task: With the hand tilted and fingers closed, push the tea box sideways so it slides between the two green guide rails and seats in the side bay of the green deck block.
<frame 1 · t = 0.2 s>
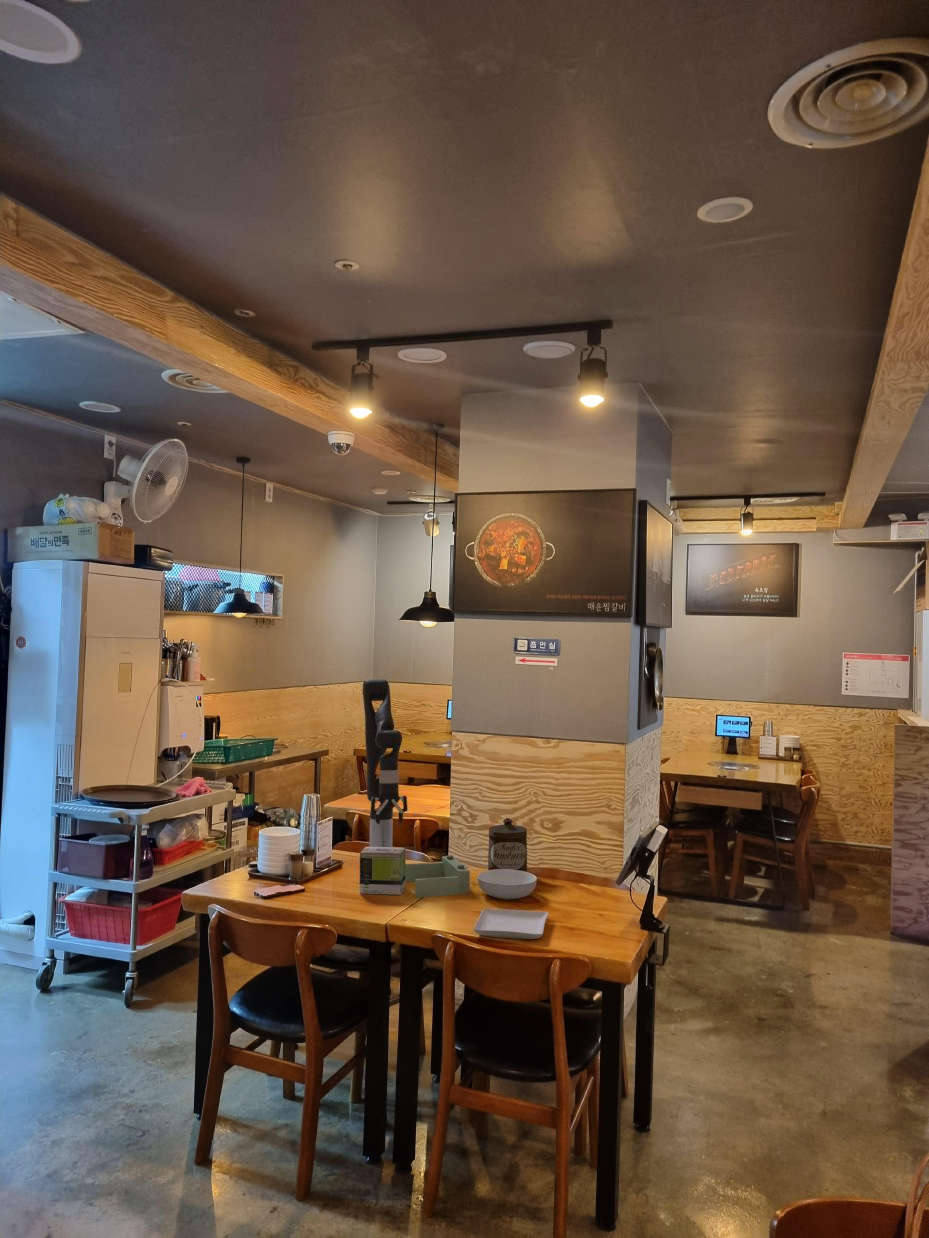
hand: (389, 823, 332), 18 cm above the table, tool pointing down, fingers open, 8 cm apart
wooden container: (507, 876, 324), on the table
salad plate: (511, 931, 263), on the table
serving bowl: (507, 896, 299), on the table
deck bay: (431, 887, 308), on the table
tea box: (382, 891, 303), on the table
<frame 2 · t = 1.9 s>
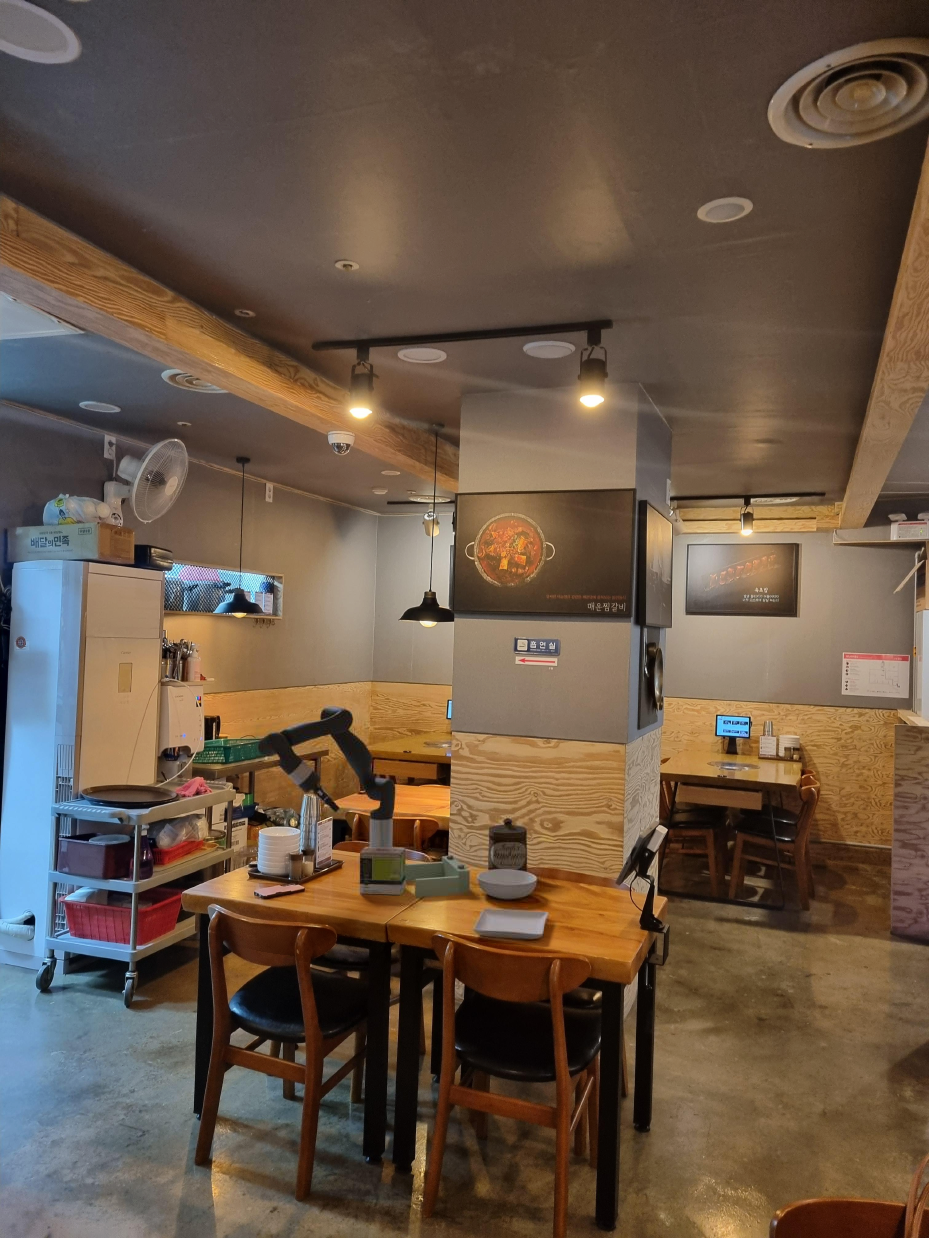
hand: (335, 808, 304), 29 cm above the table, tool tilted 45°, fingers open, 7 cm apart
nothing on the table moved.
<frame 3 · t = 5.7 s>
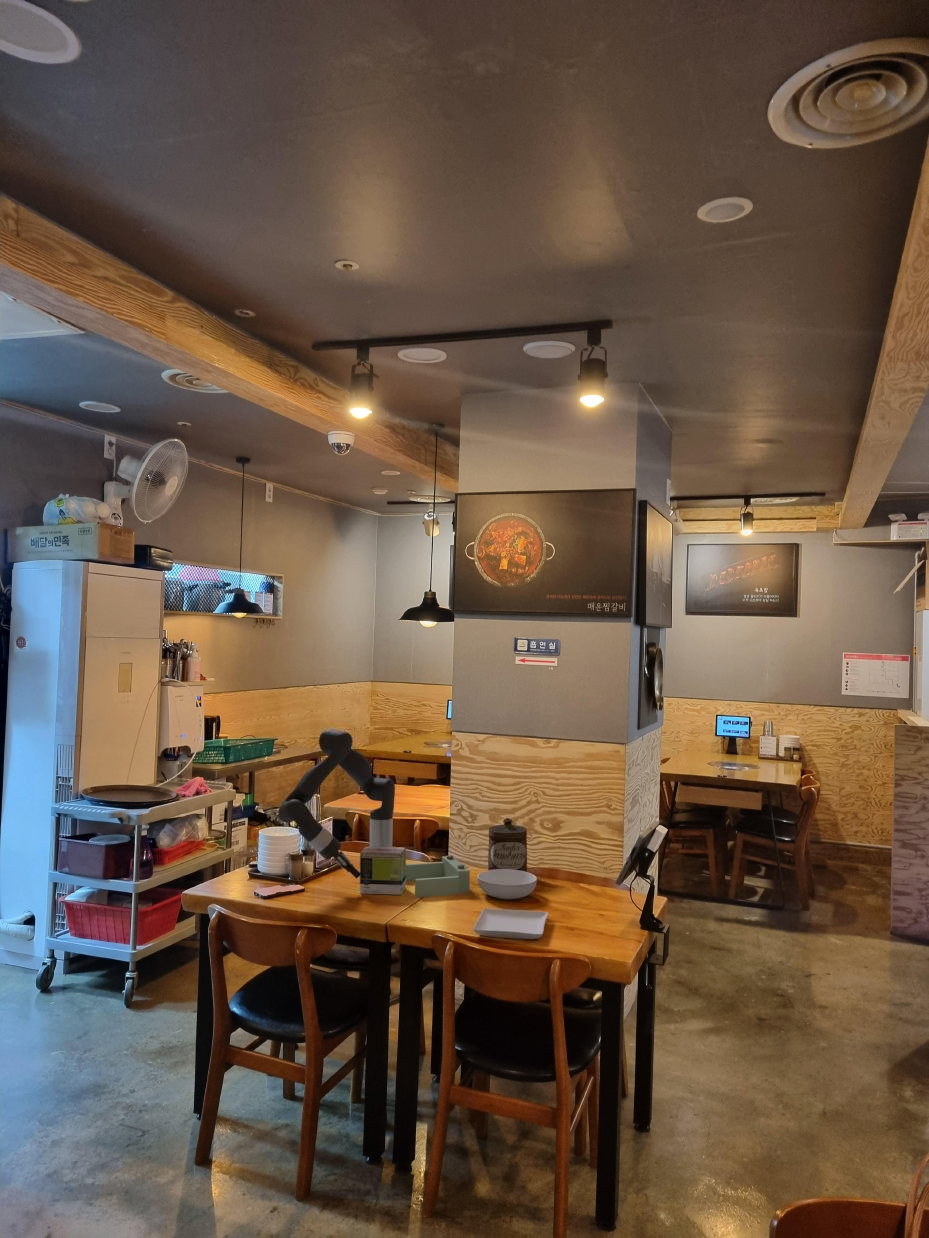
hand: (358, 875, 300), 6 cm above the table, tool tilted 45°, fingers closed
tea box: (382, 891, 303), on the table, touching gripper
everything else where it was.
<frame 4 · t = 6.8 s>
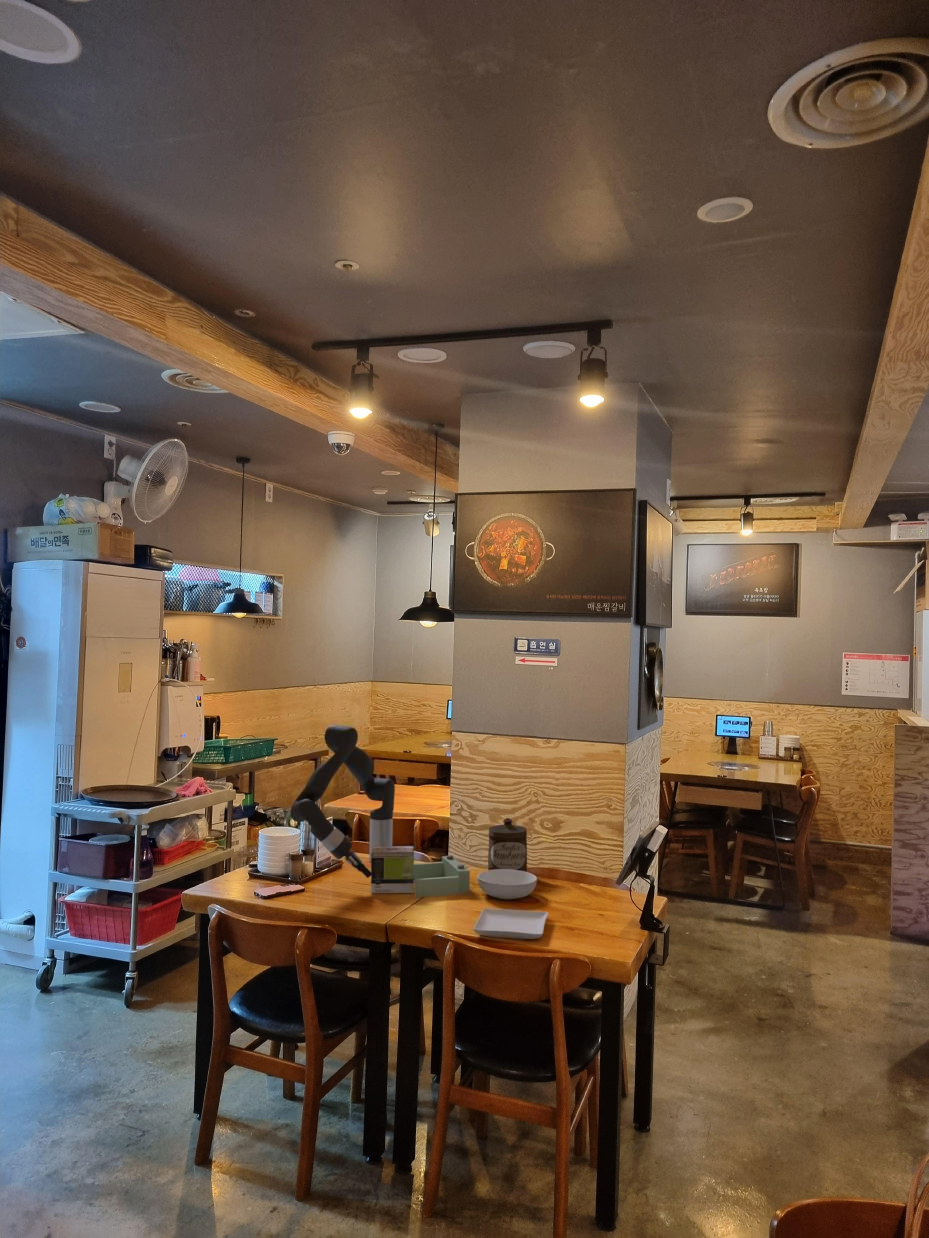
hand: (369, 875, 301), 6 cm above the table, tool tilted 45°, fingers closed
tea box: (392, 890, 304), on the table, touching gripper
everything else where it was.
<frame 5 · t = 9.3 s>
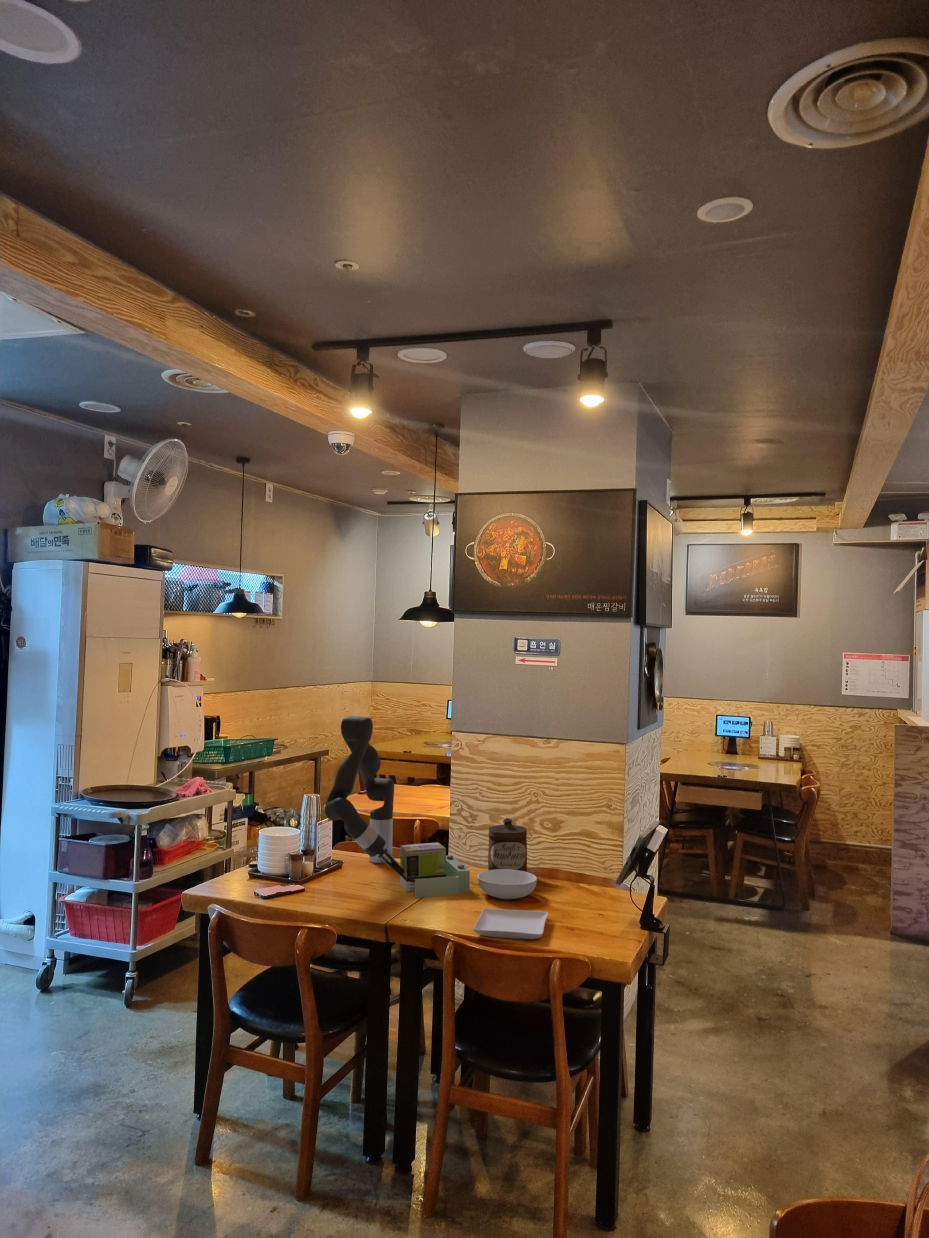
hand: (402, 872, 305), 6 cm above the table, tool tilted 45°, fingers closed
tea box: (422, 887, 308), on the table, touching gripper
everything else where it was.
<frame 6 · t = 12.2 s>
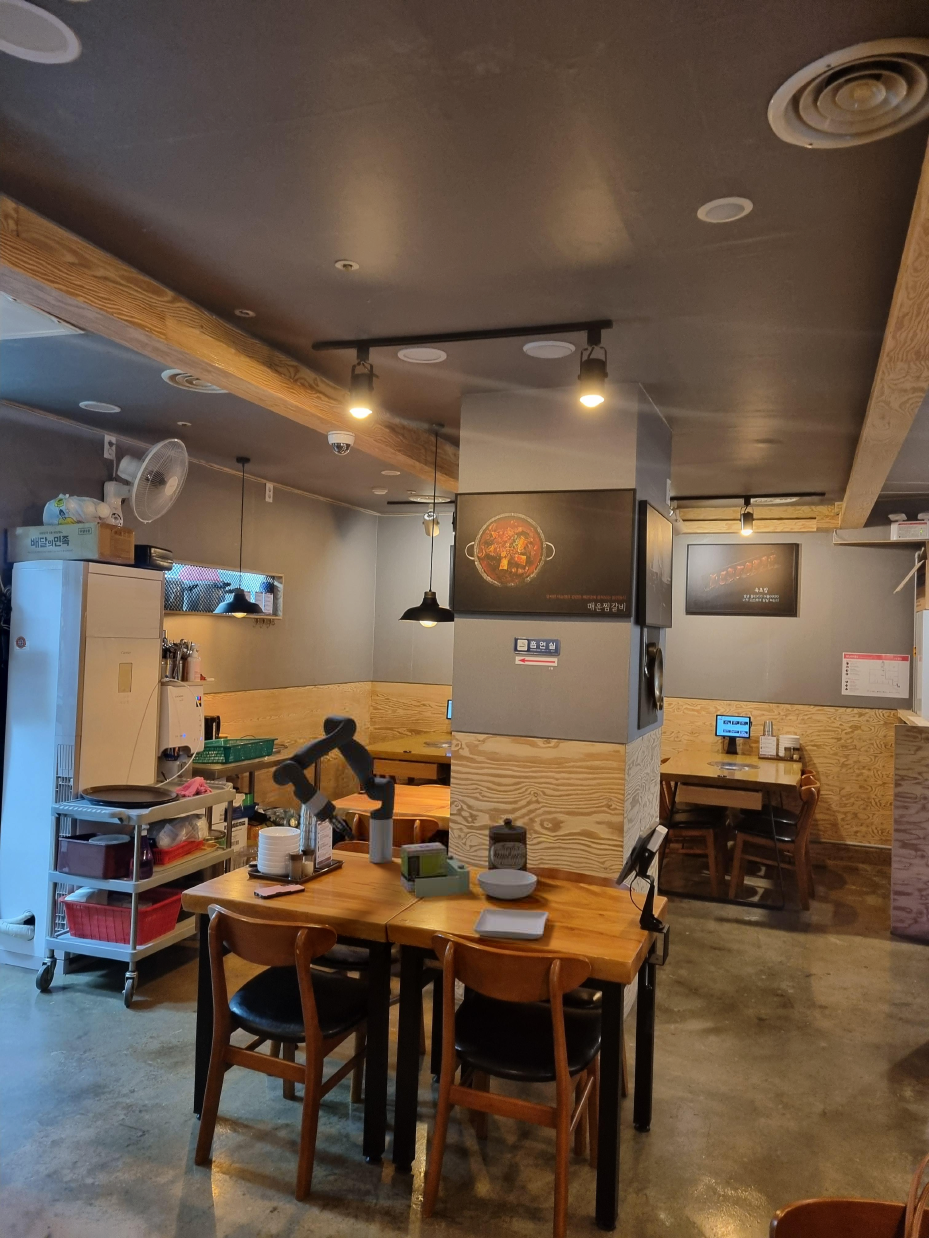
hand: (353, 838, 300), 19 cm above the table, tool tilted 45°, fingers closed
tea box: (423, 887, 308), on the table
everything else where it was.
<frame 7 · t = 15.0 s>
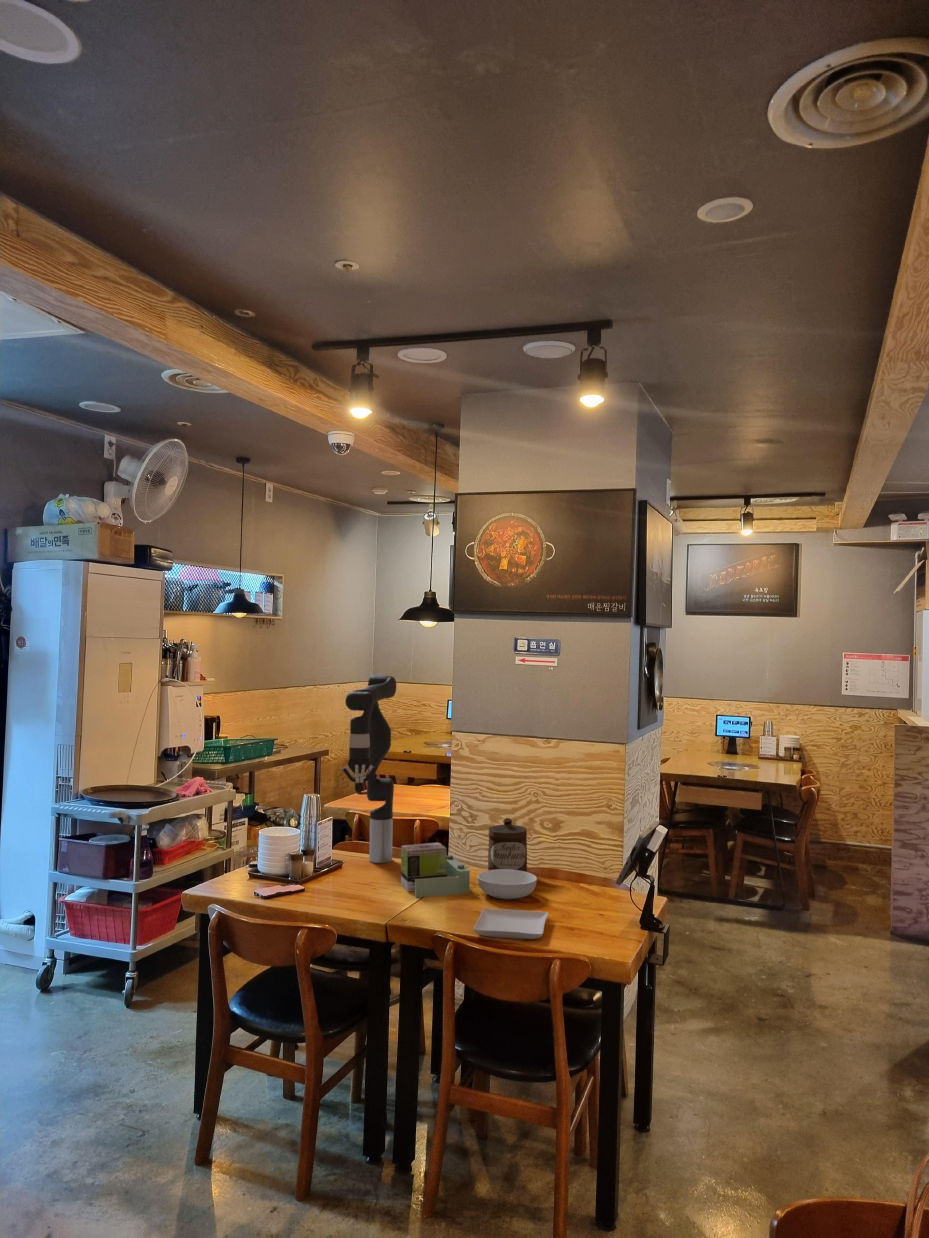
hand: (358, 792, 313), 33 cm above the table, tool pointing down, fingers closed
nothing on the table moved.
at the end: tea box inside the target area (1.3 cm from its centre), on the table; tea box tilted 0°; the gripper is holding nothing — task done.
